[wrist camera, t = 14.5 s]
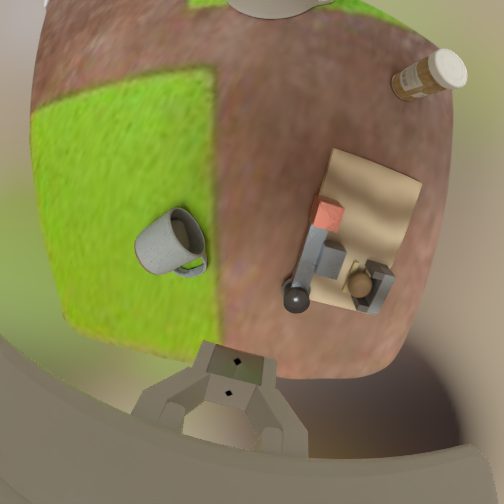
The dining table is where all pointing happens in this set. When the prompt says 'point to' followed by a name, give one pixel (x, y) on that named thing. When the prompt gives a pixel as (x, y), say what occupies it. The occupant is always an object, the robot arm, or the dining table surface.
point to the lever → (316, 253)
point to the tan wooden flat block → (364, 228)
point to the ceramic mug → (171, 244)
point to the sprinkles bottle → (430, 75)
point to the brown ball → (359, 285)
